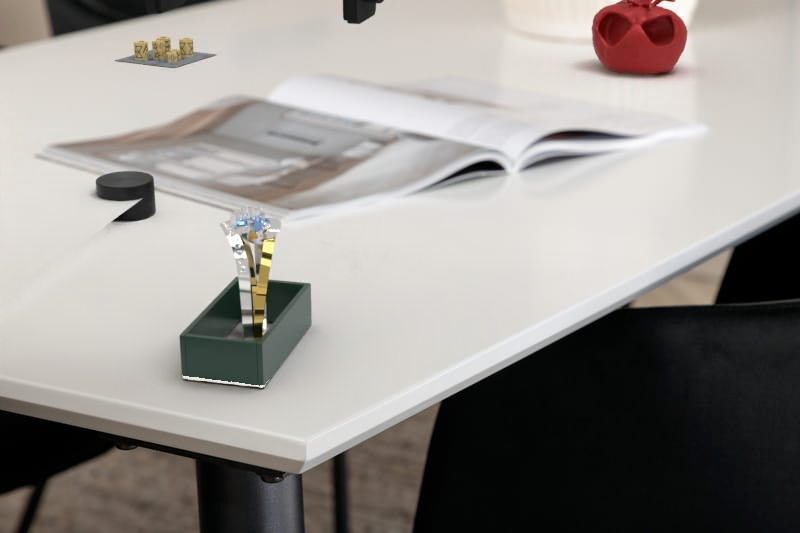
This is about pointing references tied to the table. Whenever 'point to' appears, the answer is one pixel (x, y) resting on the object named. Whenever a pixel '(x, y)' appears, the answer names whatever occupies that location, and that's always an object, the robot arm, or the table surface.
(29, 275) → the table surface
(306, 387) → the table surface
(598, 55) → the red rounded hollow piece
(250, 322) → the ring
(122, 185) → the black round cut piece
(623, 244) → the table surface
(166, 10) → the robot arm
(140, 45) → the dice set
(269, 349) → the dark green hollow box
